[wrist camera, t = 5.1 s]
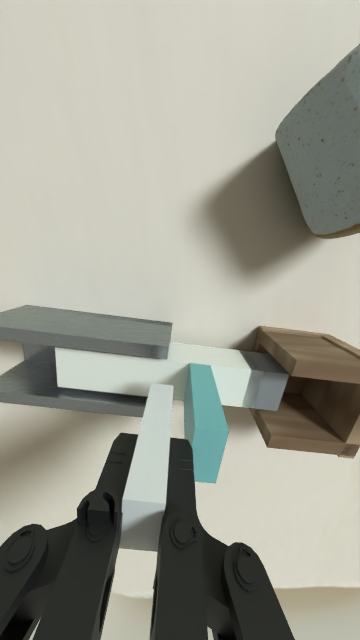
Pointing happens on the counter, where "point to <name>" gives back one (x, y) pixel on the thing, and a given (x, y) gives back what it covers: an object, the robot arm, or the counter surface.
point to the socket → (312, 393)
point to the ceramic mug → (326, 151)
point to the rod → (184, 387)
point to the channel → (79, 333)
